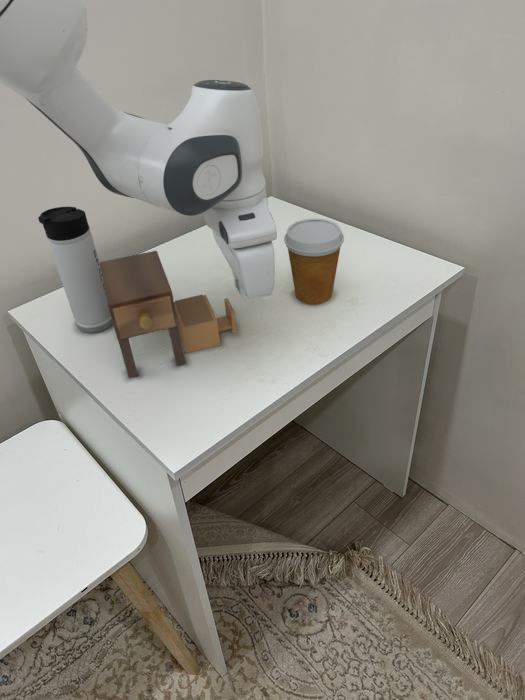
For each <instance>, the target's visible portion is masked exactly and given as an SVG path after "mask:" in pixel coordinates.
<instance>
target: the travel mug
mask: <svg viewBox="0 0 525 700" xmlns="http://www.w3.org/2000/svg"><path fill="white" fill-rule="evenodd" d="M37 219H38V222H39V224H41V225H42V227H43V229H44V231H45V237H46V239H47V241H48V242H47V243H48V246H49V248H50V251H51V254H52V257H53V260H54V264H55V266H56V269H57V273H58V275H59V278H60V280H61V284H62V287H63V290H64V292H65V295H66V298H67V301H68V304H69V307H70V311H71V313H72V316H73V318H74V321H75V324H76V327H77V329H78V330H79V331H81V332H83V333H88V334H93V333H94V334H95V333H99V332H102V331H104V330H106V329H108V328H110V327H111V326H113V321H112V318H111V314H110V311H109V308H108V304H107V298H106V293H105V288H104V283H103V278H102V272H101V267H100V262H101V261H100V259H99V256H98V251H97V248H96V245H95V242H94V238H93V235H92V234H93V233H92V231H91V227H90V225H89V223H88V218H87V215H86V211H85V210H82V209H81V208H80V209H79V208H77V207H76V206H75V207H74V206H58V207H53V208H49V209H47V210H44V211H42V212H41V213H40V215H39V216H38V217H37Z"/></svg>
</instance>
